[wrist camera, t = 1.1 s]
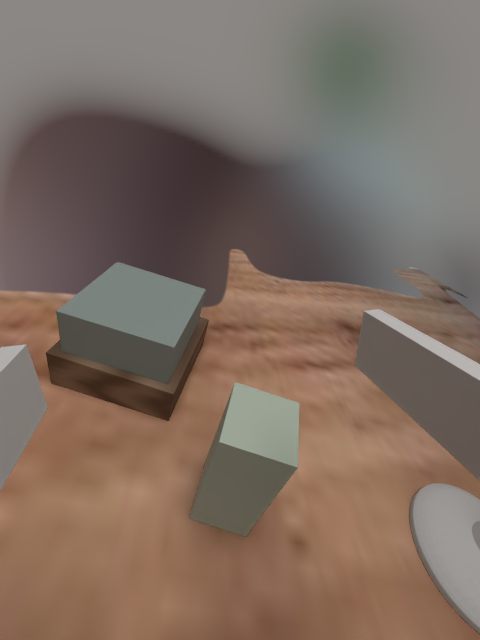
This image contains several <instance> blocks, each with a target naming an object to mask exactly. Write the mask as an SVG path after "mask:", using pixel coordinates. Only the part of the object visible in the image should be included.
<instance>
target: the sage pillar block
mask: <svg viewBox="0 0 480 640" xmlns="http://www.w3.org/2000/svg"><path fill="white" fill-rule="evenodd" d="M298 435H299V403H298V402H295V401H292V400H288V399H285V398H282V397H279V396H276V395H273V394H270V393H267V392H264V391H261V390H258V389H255V388H252V387H249V386H246V385H242V384H239V383H236V382H235V384H234V386H233V389H232V392H231V394H230V397H229V400H228V402H227V405H226V408H225V410H224V413H223V416H222V418H221V421H220V424H219V426H218V429H217V432H216V434H215V437H214V440H213V443H212V445H211V448H210V451H209V453H208V456H207V459H206V461H205V464H204V468H203V471H202V475H201V478H200V482H199V485H198V488H197V492H196V495H195V499H194V502H193V506H192V509H191V512H190V516H189V519H192V520H195V521H198V522H201V523H204V524H207V525H210V526H214V527H217V528H220V529H223V530H226V531H229V532H232V533H235V534H238V535H241V536H244V537H246V535H247V534H248V533H249V531H250V530H251V529H252V527H253V526H254V525H255V524H256V522H257V521H258V520H259V518H260V517H261V516H262V514H263V513H264V512H265V510H266V509H267V508H268V506H269V505H270V504H271V502H272V501H273V500H274V498H275V497H276V496H277V494H278V493H279V492H280V490H281V489H282V488H283V486H284V485H285V484H286V482H287V481H288V480H289V478H290V477H291V476H292V475H293V473H294V472H295V471H296V469H297V468H298Z"/></svg>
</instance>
